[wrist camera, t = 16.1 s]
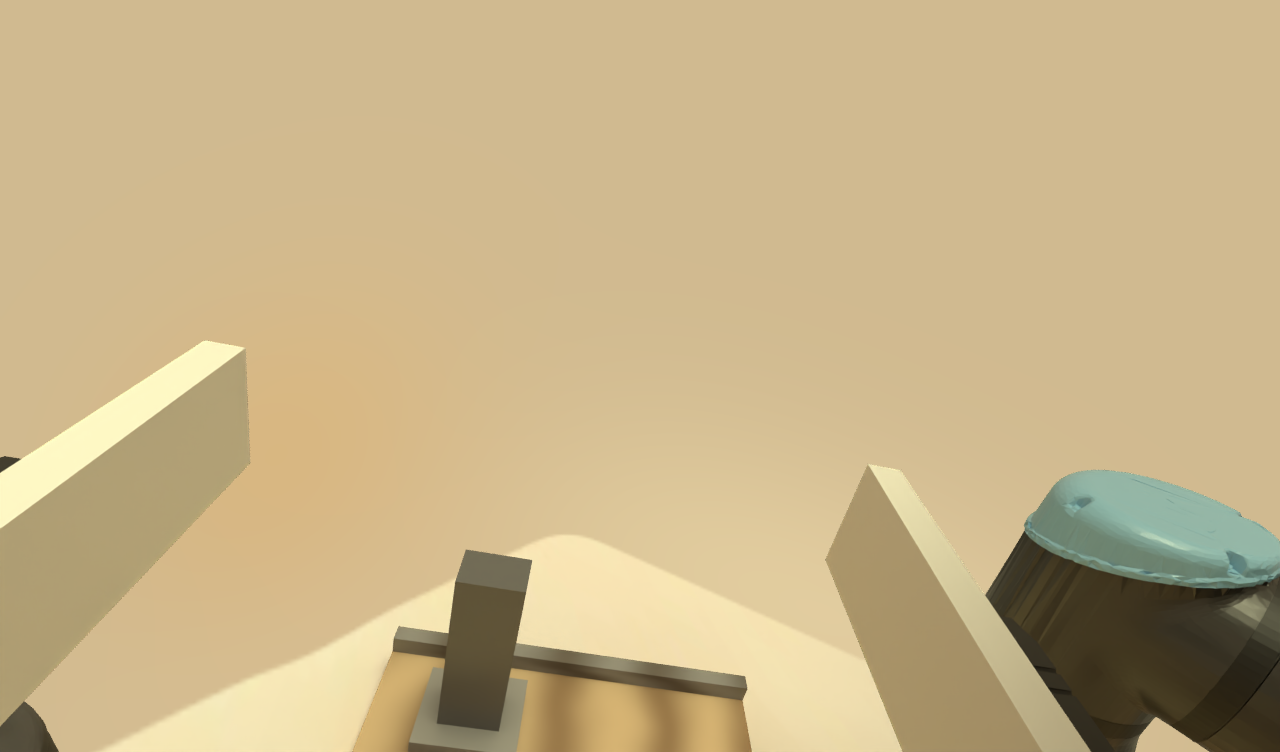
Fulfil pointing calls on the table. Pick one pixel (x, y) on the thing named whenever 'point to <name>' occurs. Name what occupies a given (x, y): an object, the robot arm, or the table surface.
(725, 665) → the table surface
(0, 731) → the coffee jar
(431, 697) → the fader tab
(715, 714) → the fader console
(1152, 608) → the robot arm
